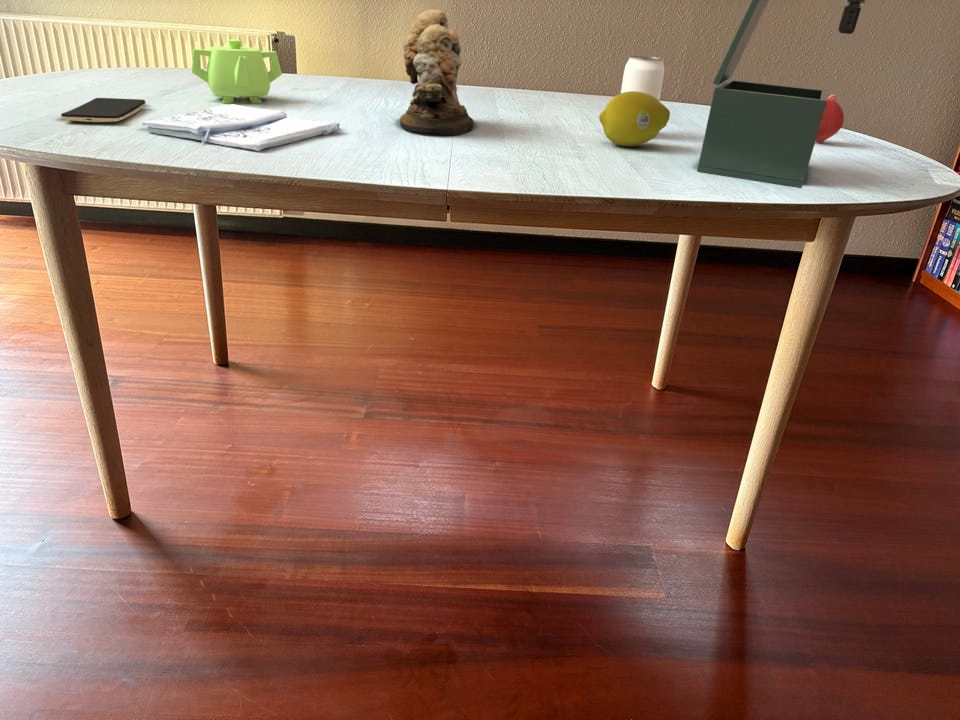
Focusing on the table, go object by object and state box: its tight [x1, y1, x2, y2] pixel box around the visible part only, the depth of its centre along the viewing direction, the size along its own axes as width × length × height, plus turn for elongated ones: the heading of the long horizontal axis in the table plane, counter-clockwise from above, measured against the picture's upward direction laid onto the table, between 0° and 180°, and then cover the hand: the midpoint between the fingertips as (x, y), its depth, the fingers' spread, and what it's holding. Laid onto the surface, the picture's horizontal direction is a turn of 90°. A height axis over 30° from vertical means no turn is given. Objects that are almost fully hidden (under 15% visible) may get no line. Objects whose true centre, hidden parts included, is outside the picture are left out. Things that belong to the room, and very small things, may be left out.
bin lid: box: [712, 0, 770, 86], centre depth 91 cm, size 14×14×5 cm
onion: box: [815, 94, 845, 144], centre depth 118 cm, size 6×6×8 cm
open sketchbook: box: [141, 103, 341, 152], centre depth 97 cm, size 19×20×2 cm
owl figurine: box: [399, 8, 474, 136], centre depth 107 cm, size 18×12×17 cm, turn 178°
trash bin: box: [696, 79, 829, 188], centre depth 95 cm, size 14×14×11 cm
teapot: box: [191, 38, 283, 104], centre depth 119 cm, size 12×12×10 cm
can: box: [620, 55, 665, 102], centre depth 114 cm, size 6×6×12 cm
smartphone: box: [60, 97, 147, 123], centre depth 102 cm, size 7×1×15 cm
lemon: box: [598, 91, 671, 147], centre depth 105 cm, size 11×8×8 cm
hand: (845, 32), depth 111 cm, fingers open, 8 cm apart
